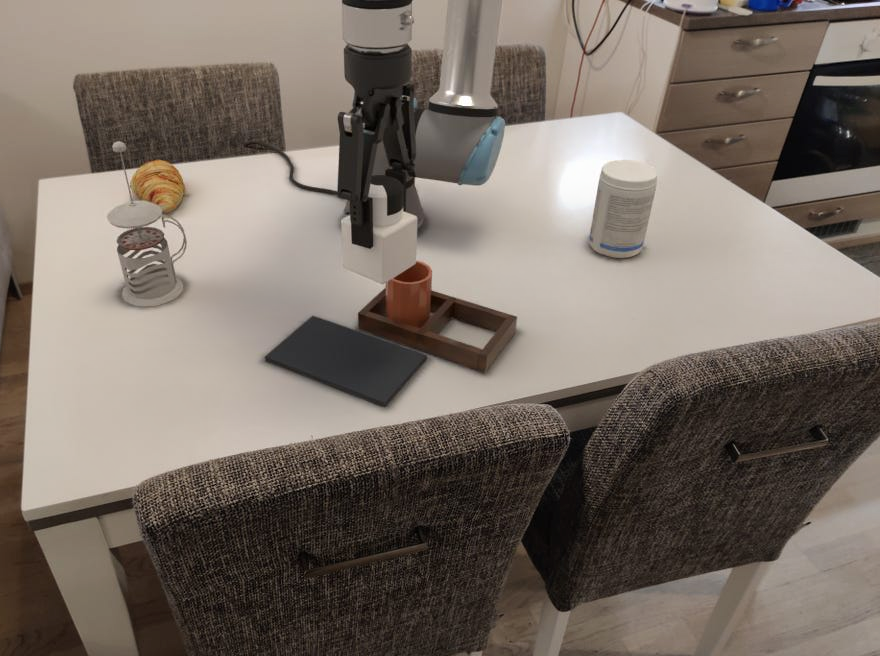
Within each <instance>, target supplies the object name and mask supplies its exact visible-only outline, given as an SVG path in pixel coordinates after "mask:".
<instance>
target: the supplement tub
mask: <svg viewBox="0 0 880 656" xmlns="http://www.w3.org/2000/svg"><path fill="white" fill-rule="evenodd" d="M658 175H659V173H658V171H657V169H656V168H655V167H653V166H652V165H650V164H648V163H644V162H642V161H637V160H631V159H619V160H618V159H617V160H611V161H609V162H606V163H604V164H603V165H602V167H601V171H600V173H599V179H598V182H597V183H598V184H597V188H596V189H597V190H596V196H595V201H594V207H593V212H592V213H593V214H592V218H591V225H590V230H589V238H588V243H589V246H590V248H592V250H594V251H595V252H596V253H598V254H600V255H603V256H606V257H610V258H614V259H615V258H616V259H625V258H630V257H634V256H636V255H638V254H639V253H640V252H641V251H642V249H643V247H644V243H645V238H646V234H647V230H648V225H649V221H650V216H651V213H652V208H653V203H654V198H655V194H656V188H657V183H658Z"/></svg>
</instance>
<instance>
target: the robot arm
mask: <svg viewBox="0 0 880 656" xmlns="http://www.w3.org/2000/svg"><path fill="white" fill-rule="evenodd" d="M413 1H414V0H341V23H342V26H341V27H342V29H341V30H342V31H341V32H342V40H343V42H344V43H346V45H345V47H344V48H343V72H344V79H345V81H346V82H347V83H348V84H349V85H350V86H351V87H352V89H353V91H354V93H353V100H352V107H351V108H350V110H349V111H348V112H345V111H339V112H338V114H337V124H338V130H339V131H338V132H339V143H338V145H339V146H338V166H337V168H338V169H337V187H336V188H337V189H336V190H333V189H328V188H322V187H315V186H310V185H306V184H302V183H300V182H299V181H297V180H295V179H294V170H295V167H294V165H293V162H292V161H291V159H290V158H289V156H288V155H287V154H286V153H285V151H282V150H281V149H278V148H276V147H274V146H272V145H270V144H267V143H265V142H261V141H259V140H249V141H247V142H245V143H244V144H243V148H244V147H245V148H247V147H249V146H250V145H257V146H261V147H265V148H267V149H269V150H271V151H273V152H275V153H277V154H279V155H280V156H282V157H283V158H284V159H285V160H286V162H287V164H288V165H289V169H290V170H289V180H290V182H291V183H292V184H293V185H295V186H296V187H299V188H301V189H305V190H308V191H314V192H321V193H326V194H327V193H328V194H332V195H335V196H336V195H337V196H336V197H337V198H338V199H341V200H345V201H346V202H345V205H344V208H343V215H342V219H343V218H345V217H347V216H349V215H350V221H351V239H352V244H355V245H358V246H362V247H365V248H369V249H371V248H372V247H373V198H370V197H368V195H369V189H370V184H371V178H372V176H373V175H385V176H390V177H393V178H395V179H397V180H399V181H400V182H401V183H402V184H403V187H404V191H403V211H404V212H407V213H409V214H412V215H415V216H417V233H418V232H419V231H420V230H421V229H422V228H423V226H424V218H425V217H424V209H423V205H422V203H421V200H420V197H419V194H418V190H417V187H416V180H415V179H416V178H417V179H424V180H431V181H437V182H445V183H451V184H457V185H458V186H463V185H466V186H476V187H479V186H482V185H484V184H486V183H487V182H488V181H489V180H490V178H491V176H492V174H493V172H494V170H495V167H496V164H497V161H498V159H499V155H500V153H501V148H502V146H503V141H504V136H505V130H506V121H505V119H504V118H502V117H501V116H498V108H499V105H498V103H497V102H496V100H495V99H494V97H493V96H492V93H491V91H492V83H493V75H494V67H495V58H496V51H497V45H498V35H499V27H500V20H501V12H502V3H503V0H447V4H446V5H447V6H446V17H445V26H444V36H443V37H444V38H443V45H442V46H443V47H442V57H441V67H440V78H439V87H438V90H437V91H436V92H435V93H434V94H433V95H431V97H430V98H428V99H429V100H428V108H422V107H421V108H420V107H418V106H419V105H418V100H417V98H416V97H415V92H416V85H415V84H414V83H410V81H411V79H412V64H413V63H412V59H413V55H412V54H413V49H412V48H411V46H410V44H409V43H410V42H411V41H412V39H413V38H412V32H413V31H412V28H413V27H412V26H413V25H414V23H415V18H414V15H413Z"/></svg>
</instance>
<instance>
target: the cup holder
mask: <svg viewBox="0 0 880 656" xmlns="http://www.w3.org/2000/svg"><path fill="white" fill-rule="evenodd" d="M431 312H434V313H433V314H432V315H430V318H429V320H428V321H427V322H426V323H425V324H424V325H423V326H422V327H421V328H417V327H414V326H411V325H408V324H405V323H402V322H399V321H396V320H393V319H390V318H387V317H386V316H385V315H383V314H384V313H386V286H385V287H384V288H383V289H382V290H381V291H380V292H378V294H376V295H375V297H373V298H372V299H371V300H370V301H369V302H367V304H366V305H365V306H363V307H362V309H360V310H359V311H358V312H357V328H358V330H360V331H363V332H366V333H369V334H372V335H374V336H378V337H381V338H384V339H385V340H386V339H387V340H390V341H393V342H395V343H398V344H401V345H404V346H407V347H410V348H413V349H415V350H418V351H421V352H425V353H427V354H430V355H433V356H436V357H438V358H442V359H444V360H447V361H450V362H453V363H456V364H460V365H462V366H465V367H468V368H470V369H474V370H477V371H478V372H479V371H480V372H483V373H486V372H487V371H488V369H489V368H490V367H491V365H492V364H493V363H494V361H495V360H497V357H498V356H499V355H500V353H501V352H502V351H503V349H504V348H505V347H506V345H508V343H509V342H510V340H511V339H512V337H513V336H514V335H515V334H516V330H517V322H518V316H516V315H514V314H510V313H508V312H507V313H506V312H504V311H501V310H498V309H493V308H490V307H487V306H483V305H480V304H477V303H474V302H470V301H467V300H464V299H462V298H457V297H455V296H451V295H449V294H446V293H442V292H438V291H436V290H432V289H431ZM453 319H456V320H459V321H463V322H465V323H468V324H471V325H475V326H478V327H481V328H484V329H488V330H490V331H494V332H495V333H494V334H493V335H492V337H491V338H490V339H489V341H488V342H486V344H485V345H484V347H483V348H482V347H481V348H480V347H477V346H474V345H472V344H468V343H466V342H462V341H459V340H456V339H453V338H451V337H448V336H445V335H441V334H440V333H441V332H442V331H443V329H444V328H445V327H446V326H447V325H448V324H449V322H450V321H451V320H453Z"/></svg>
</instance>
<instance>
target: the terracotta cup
mask: <svg viewBox="0 0 880 656" xmlns="http://www.w3.org/2000/svg"><path fill="white" fill-rule="evenodd" d="M432 285H433V270H432V268H431V266H430V265H428V264H426V263H425V262H423V261H419V260H416V264H415V265H413V266H412V267H410V268H408V269H407V270H405V271H404V272H402V273H401V274H399V275H397V276H396V277H394V278H393V279H391V280H390V281H388V282H387V283H385V287H386V311H385V317H387V318H390V319H393V320H396V321H399V322H402V323H405V324H408V325H411V326H414V327H417V328H421V327H422V326H423V325H424V324H425V323H426V322H427V321H428V320H429V318H430V317H431V312H432V311H431V290H432Z"/></svg>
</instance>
